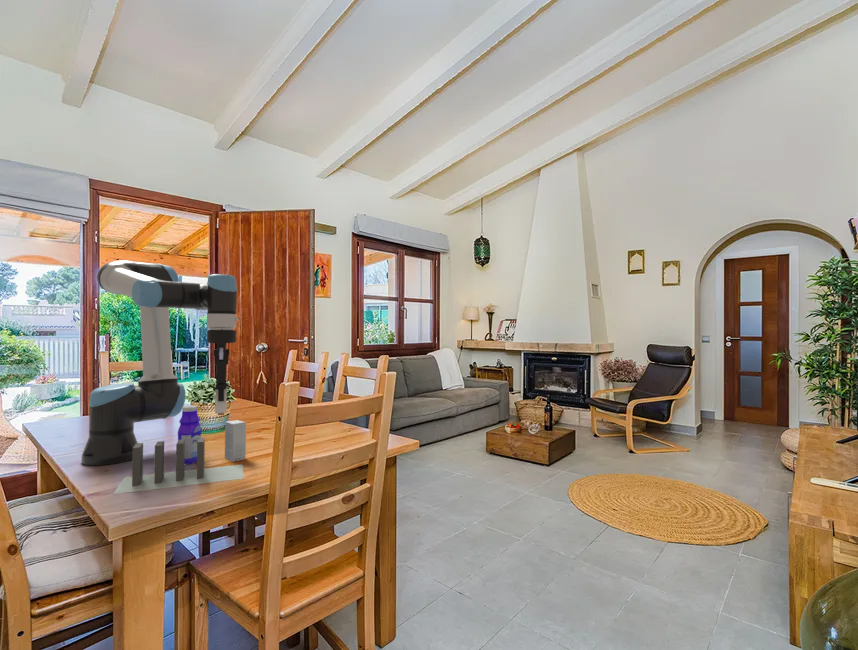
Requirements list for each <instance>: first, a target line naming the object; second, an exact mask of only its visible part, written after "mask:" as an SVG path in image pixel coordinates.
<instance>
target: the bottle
mask: <svg viewBox="0 0 858 650" xmlns="http://www.w3.org/2000/svg"><path fill="white" fill-rule="evenodd" d="M181 413H182V414H181V417H180V419H179V421H178V422H179V427H178V430H177V441H178V440H184V439H185V465H192V464H195V463H197V441H198V438H202V426H201V424H200V421H201V419H200V417H199V415H198V405H184V406H183V407H182V410H181Z"/></svg>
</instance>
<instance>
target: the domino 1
mask: <svg viewBox="0 0 858 650" xmlns="http://www.w3.org/2000/svg"><path fill="white" fill-rule="evenodd" d="M131 465H132V466H131V467H132V468H131V470H132V471H131V476H132V486H139V485H140V484H141V482H142V480H143V475H144V442H138V443H136V444H135V446H134V447H133V453H132V464H131Z"/></svg>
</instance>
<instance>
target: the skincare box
mask: <svg viewBox="0 0 858 650" xmlns="http://www.w3.org/2000/svg"><path fill="white" fill-rule="evenodd" d="M224 423H225V425H224V459H225V460H228V461H231V462H238V461H243V460H246V459H247V458H246V457H247V456H246V454H247V453H246V452H247V449H246V448H247V447H246V444H247V422H246V421H242V420H240V419H239V420H238V419H237V420H227V421H225V422H224Z"/></svg>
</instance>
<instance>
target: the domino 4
mask: <svg viewBox="0 0 858 650" xmlns="http://www.w3.org/2000/svg"><path fill="white" fill-rule="evenodd" d="M205 441H206V439H205V437H201V438H198V441H197V462H196V469H197V479H201V478H203V477H204V469H205V455H206V454H205V451H206V449H205V444H206V443H205Z"/></svg>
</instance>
